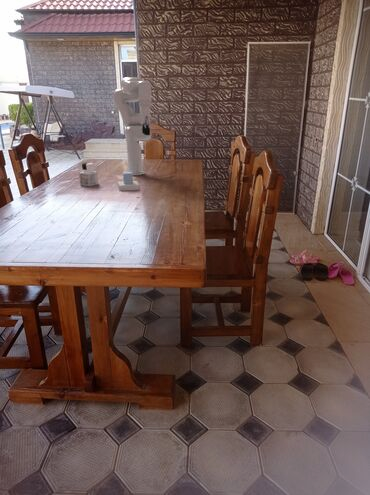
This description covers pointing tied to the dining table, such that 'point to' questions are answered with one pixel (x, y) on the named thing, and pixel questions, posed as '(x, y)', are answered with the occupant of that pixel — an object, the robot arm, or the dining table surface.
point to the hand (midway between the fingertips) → (146, 134)
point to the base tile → (128, 186)
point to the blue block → (127, 178)
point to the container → (88, 175)
